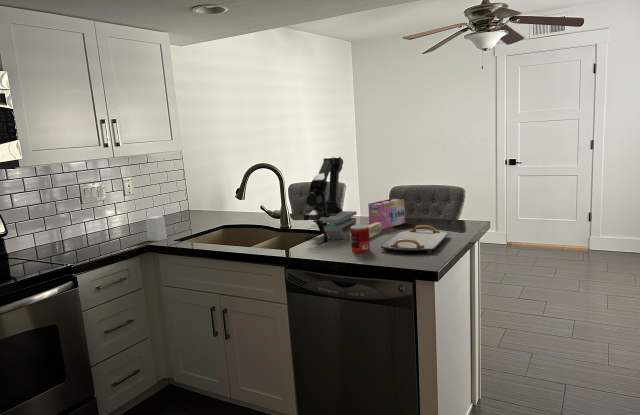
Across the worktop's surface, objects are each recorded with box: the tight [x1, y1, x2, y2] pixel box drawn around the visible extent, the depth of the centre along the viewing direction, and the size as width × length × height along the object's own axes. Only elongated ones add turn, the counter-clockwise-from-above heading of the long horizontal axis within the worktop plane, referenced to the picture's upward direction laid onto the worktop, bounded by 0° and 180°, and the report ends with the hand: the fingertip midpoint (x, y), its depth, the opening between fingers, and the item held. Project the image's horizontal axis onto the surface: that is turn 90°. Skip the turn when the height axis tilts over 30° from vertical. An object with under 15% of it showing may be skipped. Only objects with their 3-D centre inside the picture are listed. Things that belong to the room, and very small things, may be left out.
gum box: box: [368, 197, 406, 230], centre depth 261 cm, size 24×8×14 cm, turn 134°
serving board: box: [380, 224, 449, 255], centre depth 213 cm, size 39×23×6 cm, turn 155°
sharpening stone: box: [323, 210, 358, 240], centre depth 240 cm, size 25×8×11 cm, turn 155°
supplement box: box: [144, 215, 167, 242], centre depth 265 cm, size 7×7×13 cm
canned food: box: [351, 224, 371, 254], centre depth 206 cm, size 8×8×11 cm
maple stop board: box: [349, 222, 383, 245], centre depth 233 cm, size 3×30×5 cm, turn 150°
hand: (322, 233), depth 246 cm, fingers closed
